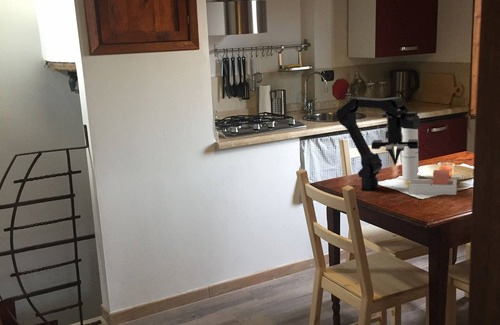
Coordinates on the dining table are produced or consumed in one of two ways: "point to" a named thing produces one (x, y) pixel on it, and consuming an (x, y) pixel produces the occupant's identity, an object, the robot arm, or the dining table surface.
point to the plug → (441, 177)
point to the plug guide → (432, 187)
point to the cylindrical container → (409, 155)
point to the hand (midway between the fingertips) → (395, 164)
